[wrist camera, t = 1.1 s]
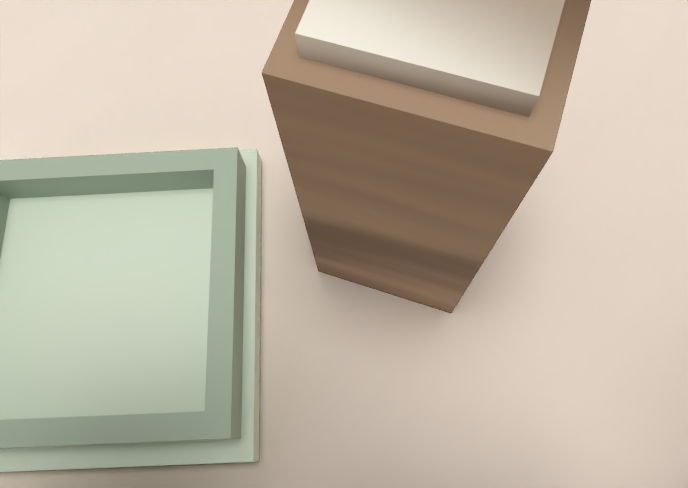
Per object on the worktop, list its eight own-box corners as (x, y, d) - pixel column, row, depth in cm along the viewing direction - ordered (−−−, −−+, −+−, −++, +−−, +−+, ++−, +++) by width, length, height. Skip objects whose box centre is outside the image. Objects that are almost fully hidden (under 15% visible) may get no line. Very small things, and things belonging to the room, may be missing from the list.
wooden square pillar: (451, 313, 21) (564, 132, 9) (318, 271, 21) (255, 50, 9) (486, 190, 22) (624, -109, 10) (361, 154, 23) (353, -164, 11)
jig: (259, 461, 19) (243, 463, 17) (-51, 473, 19) (-109, 477, 17) (261, 161, 23) (249, 129, 20) (0, 175, 23) (-42, 144, 21)
